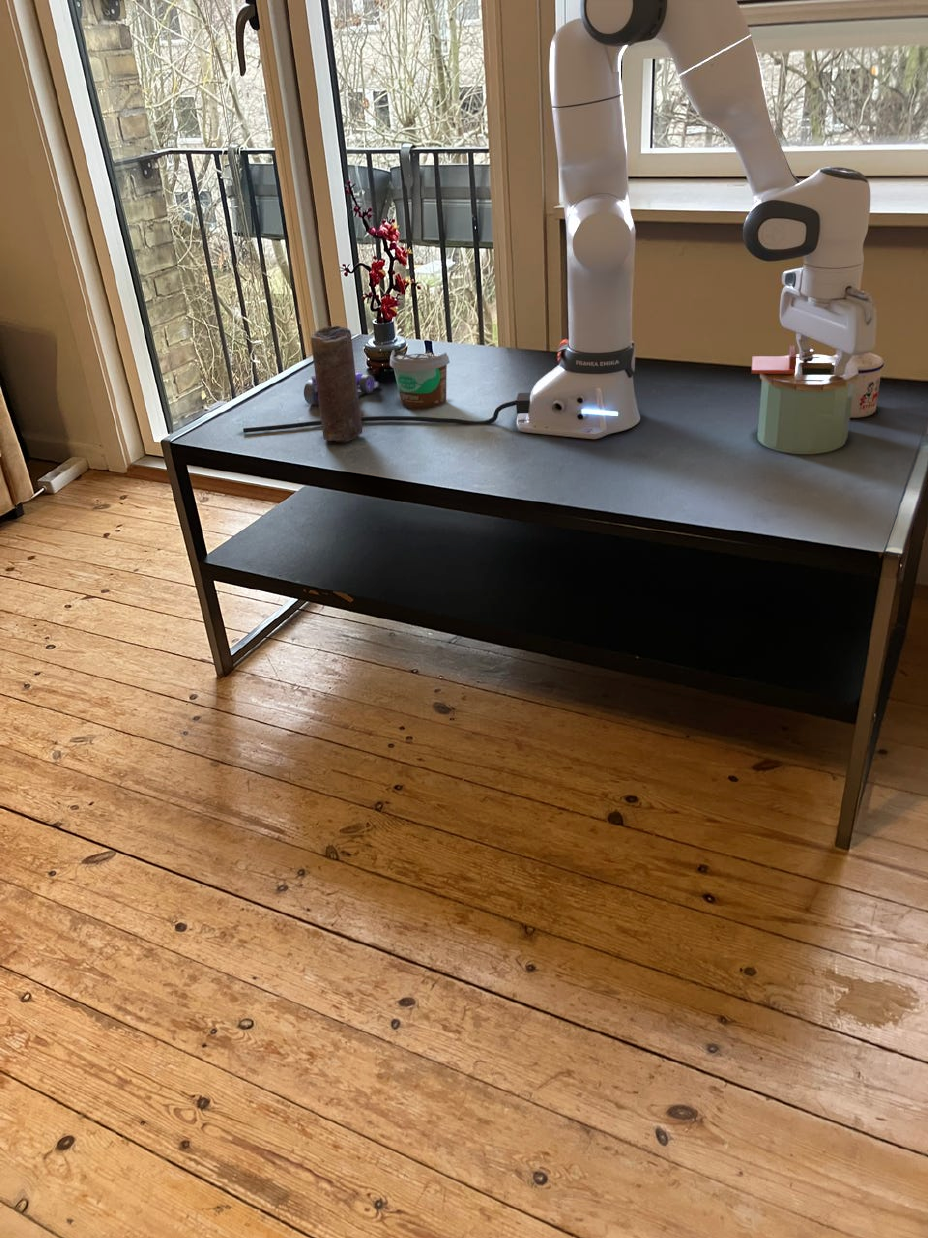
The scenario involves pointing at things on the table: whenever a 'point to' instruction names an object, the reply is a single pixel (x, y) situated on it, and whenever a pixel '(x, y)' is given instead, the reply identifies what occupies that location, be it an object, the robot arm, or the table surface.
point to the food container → (420, 379)
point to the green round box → (804, 417)
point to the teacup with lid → (865, 384)
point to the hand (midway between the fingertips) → (821, 367)
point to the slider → (775, 363)
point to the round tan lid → (813, 381)
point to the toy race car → (365, 386)
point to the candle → (336, 383)
